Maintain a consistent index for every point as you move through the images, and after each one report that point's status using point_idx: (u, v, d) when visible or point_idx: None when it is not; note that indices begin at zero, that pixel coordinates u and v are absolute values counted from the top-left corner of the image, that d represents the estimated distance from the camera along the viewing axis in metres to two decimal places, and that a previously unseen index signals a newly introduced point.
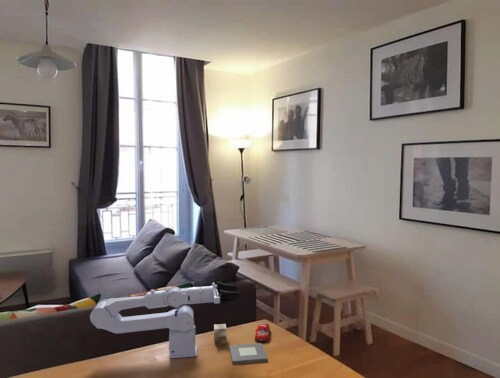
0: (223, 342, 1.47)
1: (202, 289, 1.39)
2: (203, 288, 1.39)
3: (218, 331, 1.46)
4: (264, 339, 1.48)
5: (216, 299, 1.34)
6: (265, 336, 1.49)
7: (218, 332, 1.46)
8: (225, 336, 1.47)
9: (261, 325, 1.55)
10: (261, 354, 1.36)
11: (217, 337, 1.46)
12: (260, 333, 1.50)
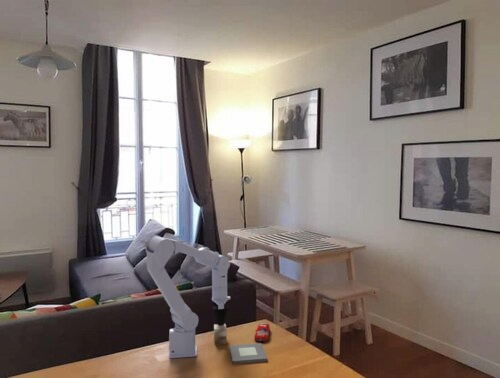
0: (223, 342, 1.47)
1: (226, 288, 1.47)
2: (226, 289, 1.47)
3: (218, 331, 1.46)
4: (264, 339, 1.48)
5: (222, 305, 1.41)
6: (265, 336, 1.49)
7: (218, 332, 1.46)
8: (225, 336, 1.47)
9: (261, 325, 1.55)
10: (261, 354, 1.36)
11: (217, 337, 1.46)
12: (260, 333, 1.50)
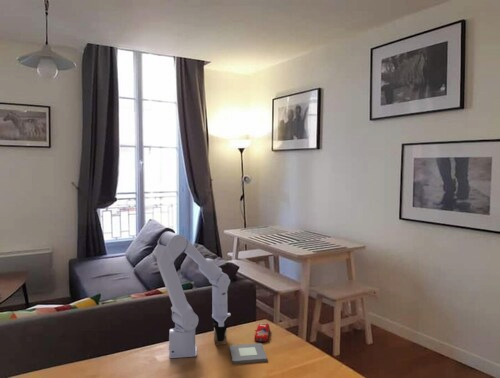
0: (223, 342, 1.47)
1: (226, 305, 1.47)
2: (226, 306, 1.48)
3: None
4: (263, 339, 1.48)
5: (222, 323, 1.41)
6: (265, 336, 1.49)
7: None
8: (225, 336, 1.47)
9: (261, 325, 1.55)
10: (261, 354, 1.36)
11: None
12: (260, 333, 1.50)
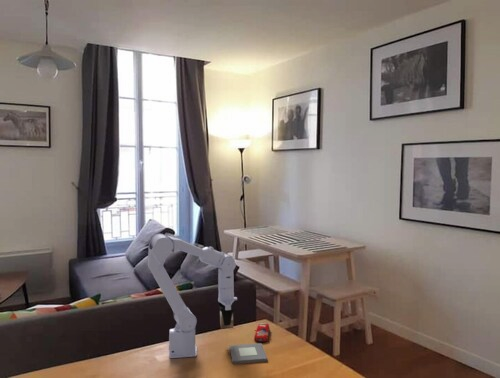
0: (230, 326, 1.44)
1: (232, 289, 1.44)
2: (233, 289, 1.45)
3: None
4: (263, 339, 1.48)
5: (229, 306, 1.39)
6: (264, 336, 1.48)
7: None
8: (232, 320, 1.44)
9: (261, 325, 1.55)
10: (261, 354, 1.36)
11: None
12: (260, 333, 1.50)
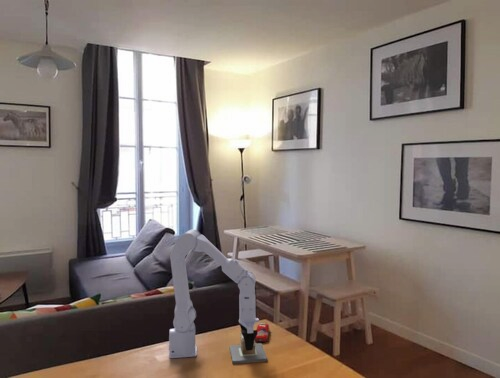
0: (251, 352, 1.36)
1: (254, 310, 1.36)
2: None
3: None
4: (263, 339, 1.48)
5: (251, 329, 1.31)
6: (264, 336, 1.48)
7: None
8: (254, 345, 1.36)
9: (260, 325, 1.55)
10: (261, 354, 1.36)
11: None
12: (259, 333, 1.50)
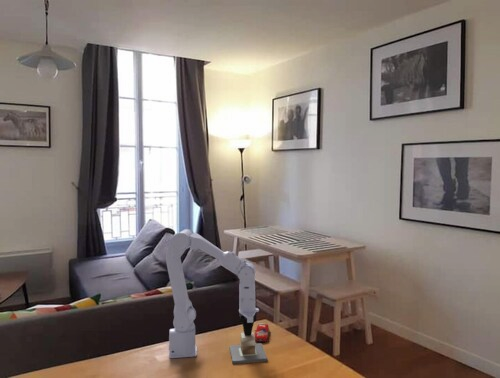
0: (251, 352, 1.36)
1: (254, 300, 1.36)
2: None
3: (247, 340, 1.36)
4: (263, 339, 1.48)
5: (251, 319, 1.30)
6: (264, 336, 1.48)
7: (246, 341, 1.36)
8: (254, 345, 1.36)
9: (260, 325, 1.55)
10: (261, 354, 1.36)
11: (245, 346, 1.36)
12: (259, 333, 1.50)
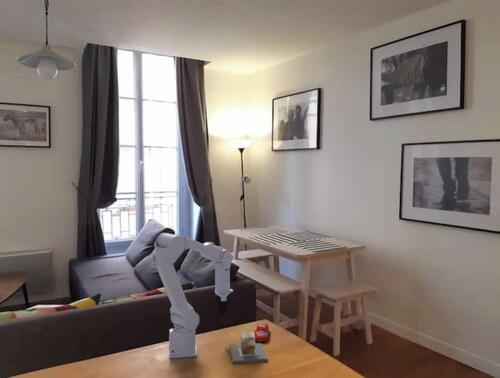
0: (251, 352, 1.36)
1: (228, 281, 1.51)
2: (229, 282, 1.52)
3: (247, 340, 1.36)
4: (263, 339, 1.47)
5: (224, 298, 1.45)
6: (264, 336, 1.48)
7: (246, 341, 1.36)
8: (254, 345, 1.36)
9: (260, 325, 1.55)
10: (261, 354, 1.36)
11: (245, 346, 1.36)
12: (259, 334, 1.50)
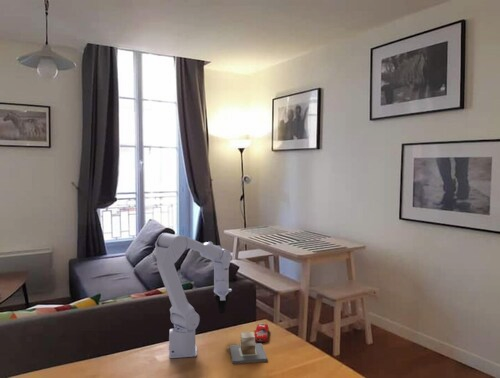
0: (251, 352, 1.36)
1: (227, 281, 1.52)
2: (228, 281, 1.52)
3: (247, 340, 1.36)
4: (263, 339, 1.47)
5: (223, 297, 1.46)
6: (264, 336, 1.48)
7: (246, 341, 1.36)
8: (254, 345, 1.36)
9: (260, 325, 1.55)
10: (261, 354, 1.36)
11: (245, 346, 1.36)
12: (259, 334, 1.50)
